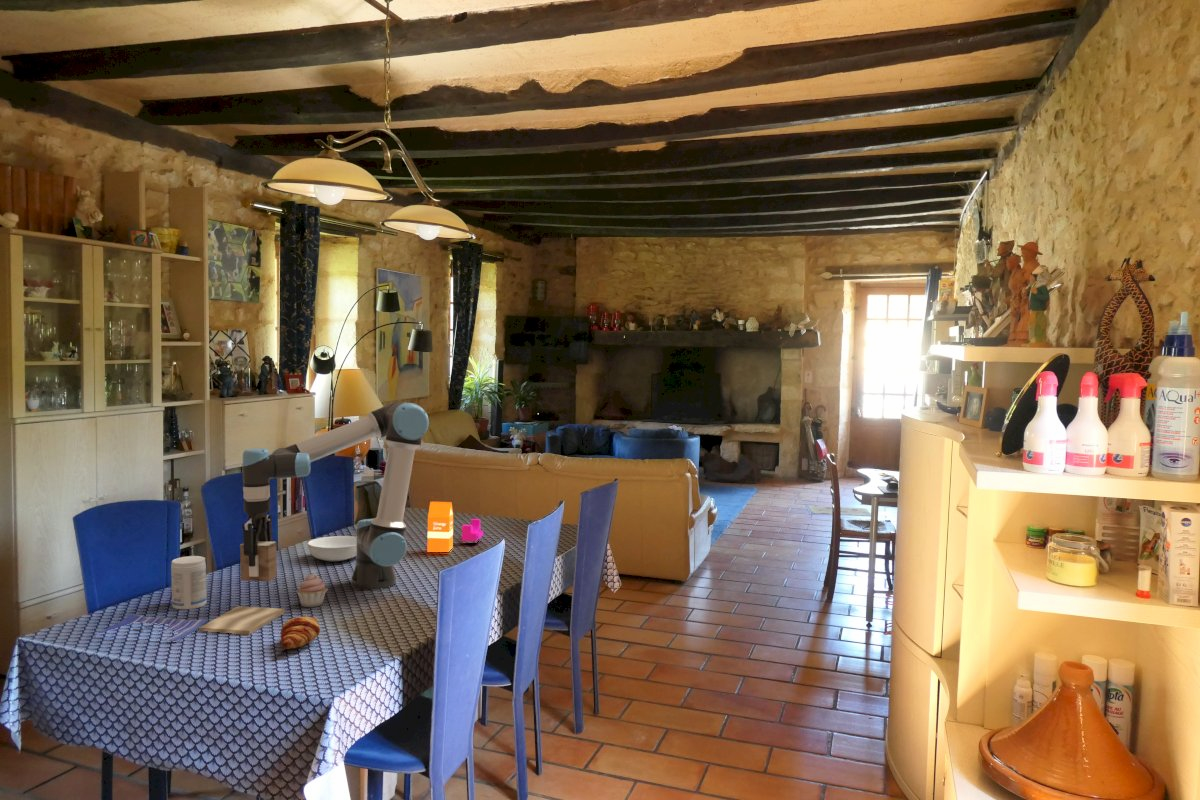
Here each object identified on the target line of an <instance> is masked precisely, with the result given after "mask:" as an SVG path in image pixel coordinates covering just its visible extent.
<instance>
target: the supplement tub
mask: <svg viewBox="0 0 1200 800" xmlns="http://www.w3.org/2000/svg"><path fill="white" fill-rule="evenodd" d="M170 566H171V567H170V570H171V571H170V572H171V573H170V574H171V577H170V579H171V607H172V608H173V609H176V610H193V609H197V608H198V609H199V608H201V607H203V606H205V605H206V604H207V601H208V599H207V566H206V557H204V556H199V555H188V556H186V555H185V556H180V557H178V558H174V559H173V560H171V565H170Z"/></svg>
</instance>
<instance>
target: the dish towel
mask: <svg viewBox="0 0 1200 800" xmlns="http://www.w3.org/2000/svg"><path fill="white" fill-rule="evenodd" d="M134 622H140V623H145V622H146V623H151V624H152V623H153V624H154V623H157V624H155V625H157V626H160V623H161V624H162V623H166V624H168V625H165V626H163V627H168V628H167V629H163V630H164V631H165V632H167V631H166V630H168V631H169V630H171V631H172V632H173V633H174V632H178V631H179V632H178V634H175V636H173V637H169V638H167V639H165V640H167V641H178V640H179V639H181V638H183V637H185V636H187V635H189V634H190V633H192V632H194V631H196V630H197V631H199V630H198V629H199V627H201V626H203V625H205V624H207V623H208V622H209V619H208V618H206V619H205V618H203V619H201V618H200V619H184V618H174V617H173V618H172V617H171V618H168V617H152V616H145V615H141V614H136V613H132V614H131V615H130V614H129V615H128V616H126V617H124V619H122V620H121V621H119V622H117V623H115V624H113V625H111V626H109V627H107V628H104V629H103V630H101V631H99V632H98V633H103V632H106V631H108V630H111V629H115V628H117V627H121V626H124V625H127V624H132V623H134ZM158 624H159V625H158ZM169 625H170V626H169ZM173 630H174V631H173ZM197 631H196V632H197ZM160 632H161V633H162V632H163V631H160ZM170 633H171V632H170ZM194 633H195V632H194ZM192 634H193V633H192ZM189 636H190V635H189ZM187 637H188V636H187Z"/></svg>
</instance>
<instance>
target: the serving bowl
mask: <svg viewBox="0 0 1200 800" xmlns="http://www.w3.org/2000/svg"><path fill="white" fill-rule="evenodd" d="M307 547H308V551H309V553H310V554H311V556H312V557H314V558H315V559H318V560H322V561H326V562H341V561H346V560H348V559H352V558H354V557H356V556H357V536H352V535H336V536H333V535H331V536H324V537H317V538H314V539H311V540H309V541H308V542H307Z"/></svg>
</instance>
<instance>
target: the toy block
mask: <svg viewBox="0 0 1200 800" xmlns="http://www.w3.org/2000/svg"><path fill="white" fill-rule="evenodd" d="M481 521H482V519H480V518H471V519H470V524H462V526H461V542H462V541H477V540H478V539H479V538H481V537H482V536H483V537H484V530H481V527H482V526H481V524H482V523H481Z"/></svg>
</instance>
